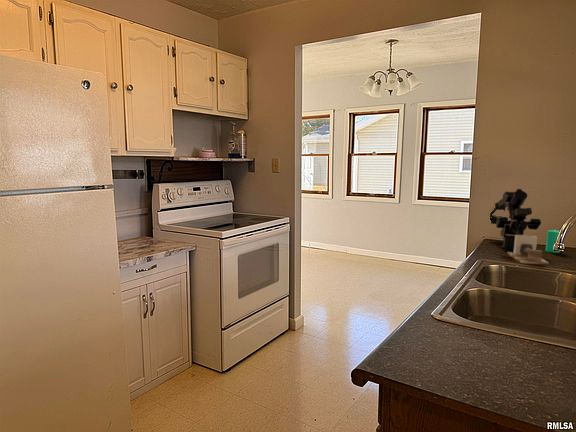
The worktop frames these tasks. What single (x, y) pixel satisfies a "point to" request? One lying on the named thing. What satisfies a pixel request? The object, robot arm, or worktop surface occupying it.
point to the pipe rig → (529, 256)
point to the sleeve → (524, 243)
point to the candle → (551, 240)
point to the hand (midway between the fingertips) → (521, 237)
